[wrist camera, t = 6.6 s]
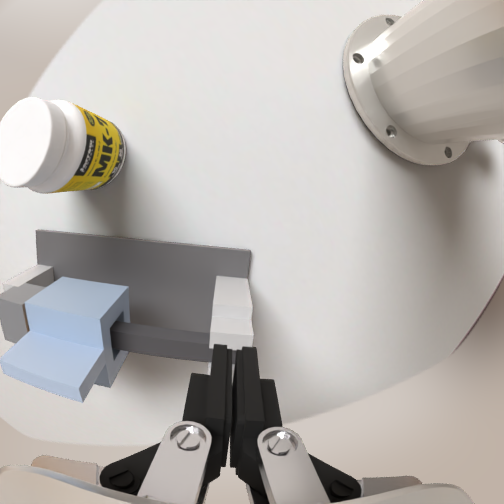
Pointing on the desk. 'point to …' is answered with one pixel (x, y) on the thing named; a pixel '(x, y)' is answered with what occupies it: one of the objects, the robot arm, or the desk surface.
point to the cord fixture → (147, 292)
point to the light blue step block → (70, 338)
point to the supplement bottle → (58, 147)
